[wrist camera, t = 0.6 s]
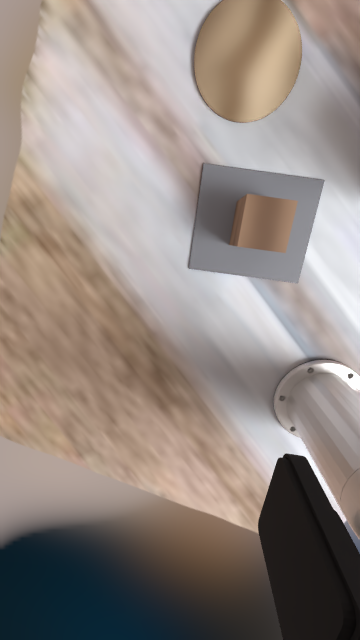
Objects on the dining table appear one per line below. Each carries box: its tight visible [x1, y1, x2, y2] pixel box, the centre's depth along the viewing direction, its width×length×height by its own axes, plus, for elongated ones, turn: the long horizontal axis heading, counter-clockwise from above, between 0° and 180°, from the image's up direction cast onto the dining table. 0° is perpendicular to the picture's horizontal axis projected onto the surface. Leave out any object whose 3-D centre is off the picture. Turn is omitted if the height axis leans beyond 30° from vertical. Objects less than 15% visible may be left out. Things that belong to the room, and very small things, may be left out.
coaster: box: [194, 0, 302, 123], centre depth 29 cm, size 11×11×1 cm
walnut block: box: [229, 194, 298, 253], centre depth 30 cm, size 5×5×6 cm
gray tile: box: [189, 163, 324, 283], centre depth 33 cm, size 14×12×1 cm
